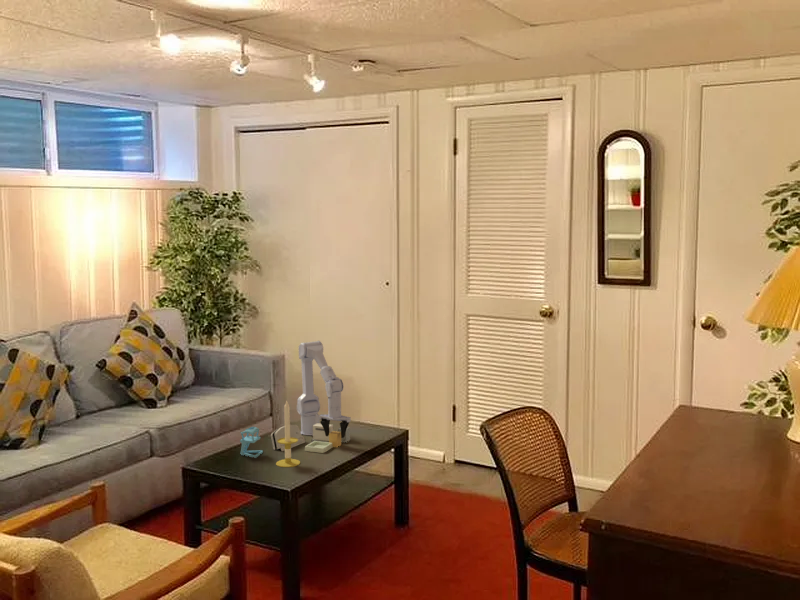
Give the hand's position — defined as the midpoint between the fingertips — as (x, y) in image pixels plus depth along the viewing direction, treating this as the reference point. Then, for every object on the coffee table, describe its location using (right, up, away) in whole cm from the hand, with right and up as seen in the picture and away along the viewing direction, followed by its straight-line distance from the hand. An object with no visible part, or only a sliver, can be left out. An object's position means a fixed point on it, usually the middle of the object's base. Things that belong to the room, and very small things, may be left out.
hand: (335, 436), depth 350 cm
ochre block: (0, -4, +1) cm, 4 cm away
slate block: (+3, -3, +8) cm, 9 cm away
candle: (-18, -7, -24) cm, 30 cm away
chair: (-35, -6, -11) cm, 38 cm away
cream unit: (-6, -3, +8) cm, 11 cm away
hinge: (-21, -5, +2) cm, 22 cm away
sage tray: (-7, -5, -4) cm, 9 cm away
